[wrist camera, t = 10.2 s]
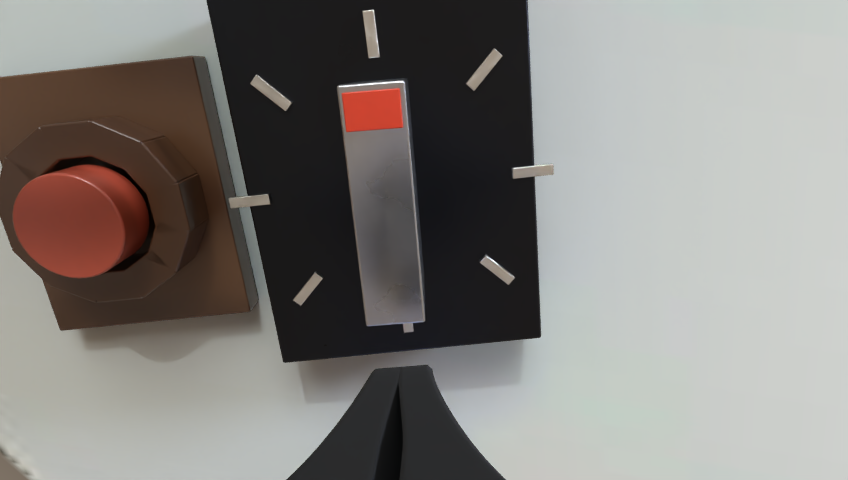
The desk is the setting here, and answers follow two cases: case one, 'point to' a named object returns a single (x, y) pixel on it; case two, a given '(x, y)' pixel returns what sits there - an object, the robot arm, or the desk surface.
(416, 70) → the dial base
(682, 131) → the desk surface
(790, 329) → the desk surface
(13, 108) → the button block
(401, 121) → the knob
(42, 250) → the button
